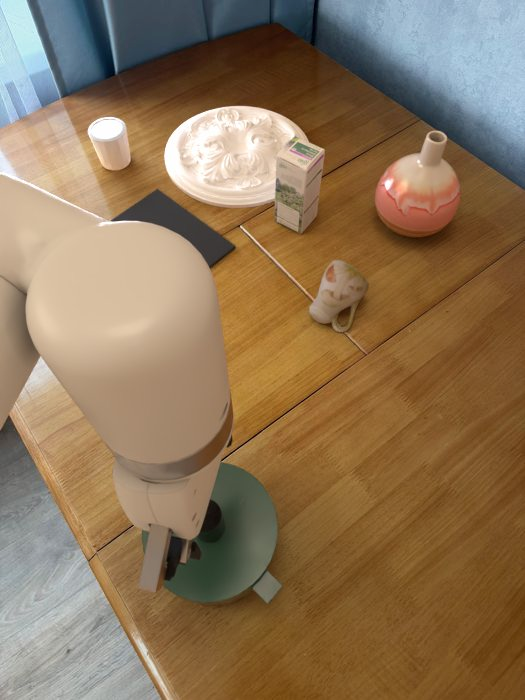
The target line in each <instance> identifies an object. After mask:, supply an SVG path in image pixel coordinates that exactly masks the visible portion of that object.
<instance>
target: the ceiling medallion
mask: <svg viewBox="0 0 525 700" xmlns="http://www.w3.org/2000/svg"><path fill="white" fill-rule="evenodd" d="M295 136H296V137H298V138H300V139H302V140H304V141H307V142H309V143H310V141H309V139H308V137H307V135H306V134H305V132H304V131H303V130H302V128H301V127H299V125H298V124H296V123H295V122H293V121H292V120H291V119H289V118H287V117H286V116H284V115H283V114H280V113H277V112H275V111H272V110H269V109H266V108H262V107H256V106H250V105H249V106H248V105H232V106H230V105H229V106H222V107H217V108H214V109H209V110H206V111H204V112H201V113H198V114H196V115H194V116H192V117H191V118H188V119H187V120H186V121H184V122H183V123H181V124H180V125H179V126H178V127H177V128H176V129H175V130H174V131H173V132H172V134H171V135H170V137H169V138H168V141H167V142H166V146H165V150H164V164H165V169H166V172H167V174H168V177H169V178H170V180H171V181H172V183H173V184H174V185H175V186H176V187H177V188H178V189H179V190H180V191H181V192H182V193H184V194H185V195H186V196H189V198H192V199H194V200H196V201H198V202H200V203H203V204H207V205H211V206H213V207H217V208H219V207H220V208H227V209H247V208H255V207H260V206H264V205H268V204H271V203H273V202H275V183H276V155H277V154H278V153H279V151H280V150H281V149H282V148H283V147H284V146H285V145H286V144H287V143H288V142H289V141H290V140H291V139H292V138H293V137H295Z"/></svg>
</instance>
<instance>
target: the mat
mask: <svg viewBox="0 0 525 700" xmlns="http://www.w3.org/2000/svg"><path fill="white" fill-rule="evenodd" d="M110 221H112V222H117V221H140V222H147V223H152V224H155V225H159V226H162V227H165V228H167V229H169V230H171V231H173V232H175V233H177V234H179V235H181V236H182V237H183V238H185V239H186V240H188V241H189V242H190V243H191V244H192V245H193V246H194V247H195V248H196V249H197V250H198V251H199V252H200V254H201V255H202V256H203V258H204V259H205V261H206V263H207V264H208V266H209V268H210V269H212V267H214V266H215V265H216V264H217V263H219V262H220V261H221V260H222V259H224V258H225V257H227V256H228V255H229V254H230V253H231V252H233V251H234V250H235V249H236V248H237V247H236V245H235V244H234V243H232V242H231V241H230V240H228V239H227V238H226V237H224V236H223V235H222V234H220V233H219V232H217V231H216V230H215V229H213V228H212V227H211V226H209V225H208V224H206V223H205V222H204V221H202V220H201V219H199V218H198V217H197V216H195V215H194V214H193V213H191V212H190V211H189V210H187V209H186V208H185V207H184V206H182V205H180V204H179V203H178V202H176V201H175V200H174V199H172V198H171V197H170V196H168V195H167V194H165V193H164V192H163V191H161V189H158V188H156V189H154V190H153V191H152V192H150V193H149V194H147V195H146V196H144V197H143V198H142V199H140V200H138V201H137V202H135V203H134V204H133V205H131V206H129V207H128V208H127V209H125V210H124V211H122V212H120V213H119V214H118V215H116V216H115V217H113V218H112V219H110Z"/></svg>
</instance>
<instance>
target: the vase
mask: <svg viewBox="0 0 525 700" xmlns="http://www.w3.org/2000/svg"><path fill="white" fill-rule="evenodd" d="M447 141H448V136H447V135H446V133H444V132H443V131H441V130H430V131H429V132H428V133H427V134H426V136H425V138H424V141H423V145H422V147H421V151H420V152H415V153H410V154H408V155H405V156H402V157H400V158H399V159H397V160H395V161H394V162H393V163H391V165H389V166H388V167H387V168H386V169H385V170H384V172H383V173H382V174H381V177H380V179H379V180H378V183H377V185H376V189H375V193H374V205H375V210H376V212H377V213H376V214H377V216H378V217H379V218H380V220H381V222H382V223H383V225H385V226H386V227H387V228H388V229H389V230H391V231H392V232H394V233H396V234H398V235H401V236H404V237H407V238H425V237H428V236H431V235H435V234H436V233H438V232H440V231H442V230H443V229H445V228H446V227H447V226H448V225H449V224H450V223H451V221H452V220H453V219H454V217H455V216H456V214H457V211H458V209H459V206H460V202H461V194H462V192H461V184H460V179H459V177H458V175H457V173H456V171H455V169H454V168H453V167H452V165H451V164H449V162H447V160H445V159H444V158H443V154H444V151H445V148H446V145H447Z"/></svg>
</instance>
